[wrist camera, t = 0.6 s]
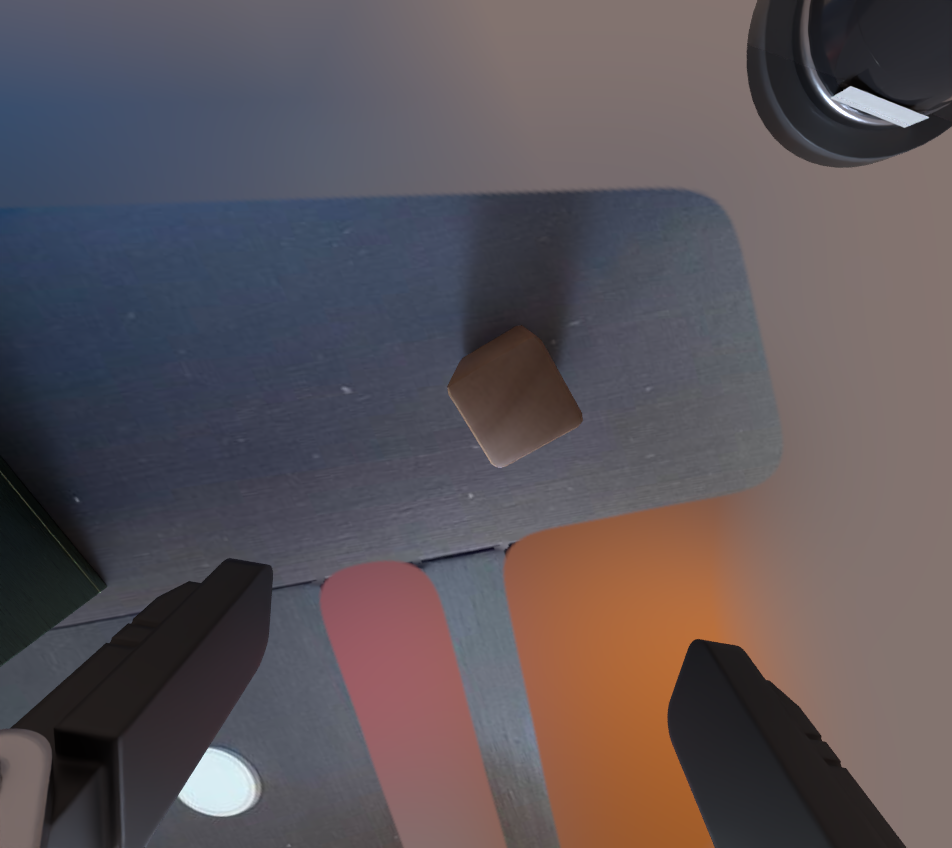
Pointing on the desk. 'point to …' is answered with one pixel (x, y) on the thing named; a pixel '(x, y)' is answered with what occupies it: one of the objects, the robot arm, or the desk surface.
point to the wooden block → (513, 396)
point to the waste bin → (35, 570)
